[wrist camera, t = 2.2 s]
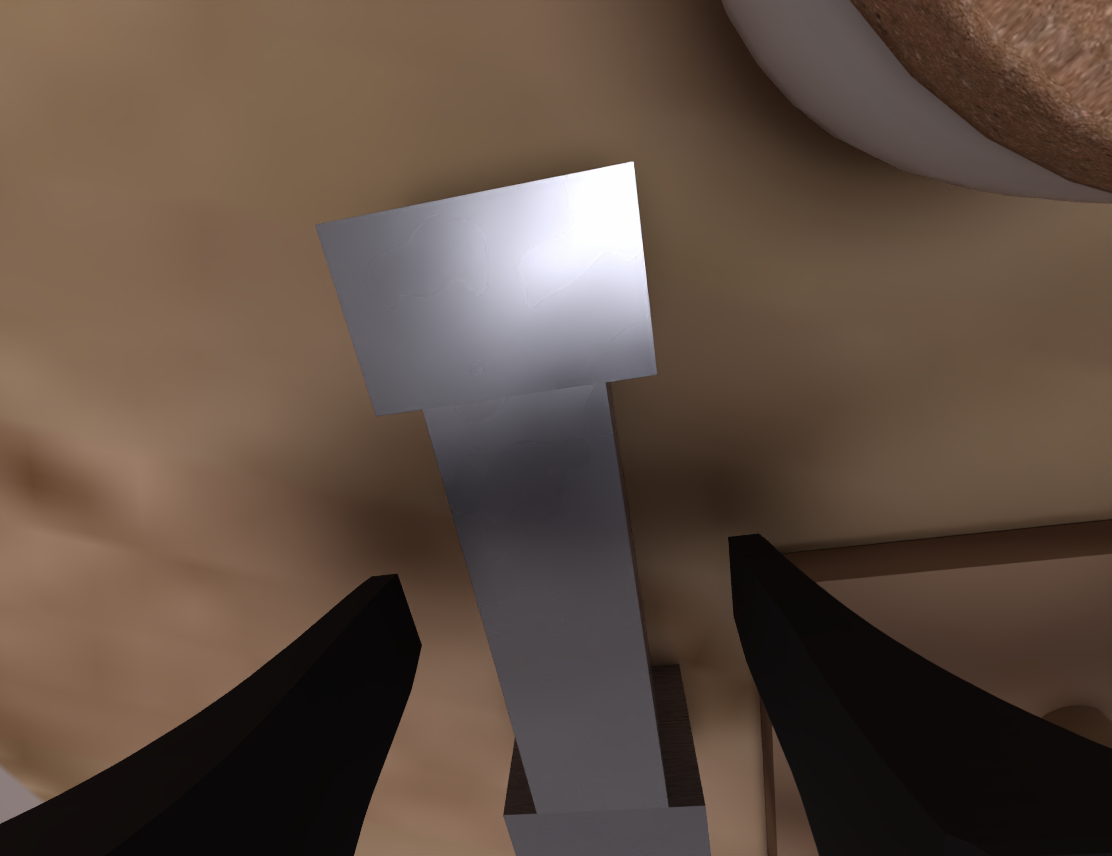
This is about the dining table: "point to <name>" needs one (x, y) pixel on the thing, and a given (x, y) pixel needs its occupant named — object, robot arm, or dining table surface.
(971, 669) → the peg rack
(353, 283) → the metal i-beam
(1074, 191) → the lidded jar
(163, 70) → the dining table surface
